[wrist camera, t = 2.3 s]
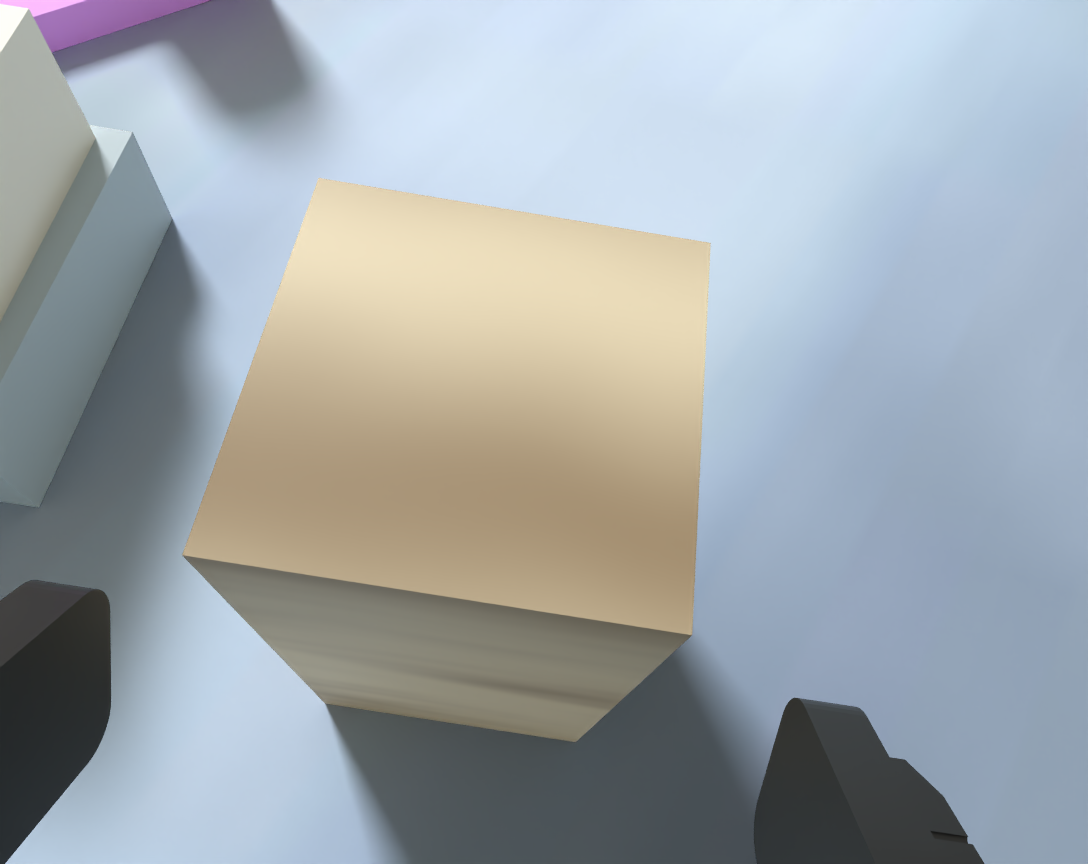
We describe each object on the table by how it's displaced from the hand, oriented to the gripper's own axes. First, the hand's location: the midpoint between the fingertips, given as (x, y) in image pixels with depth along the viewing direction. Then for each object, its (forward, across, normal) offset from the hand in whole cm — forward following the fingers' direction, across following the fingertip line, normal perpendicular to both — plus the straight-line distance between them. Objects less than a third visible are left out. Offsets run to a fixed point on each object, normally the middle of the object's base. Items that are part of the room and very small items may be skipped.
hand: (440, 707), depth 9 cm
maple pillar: (+9, 0, +4) cm, 9 cm away
